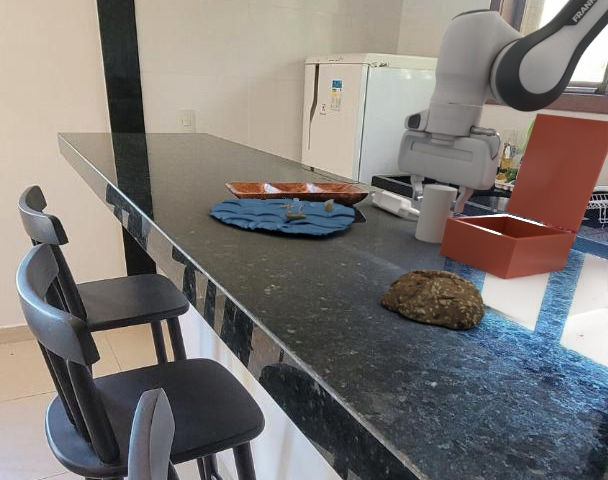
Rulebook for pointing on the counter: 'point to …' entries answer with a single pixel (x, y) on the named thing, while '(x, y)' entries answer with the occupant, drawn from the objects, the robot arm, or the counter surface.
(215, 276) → the counter surface
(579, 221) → the lid
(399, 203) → the white stepped rod
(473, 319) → the bread roll
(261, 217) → the sea diorama
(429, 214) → the white cylinder
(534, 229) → the open terracotta box
